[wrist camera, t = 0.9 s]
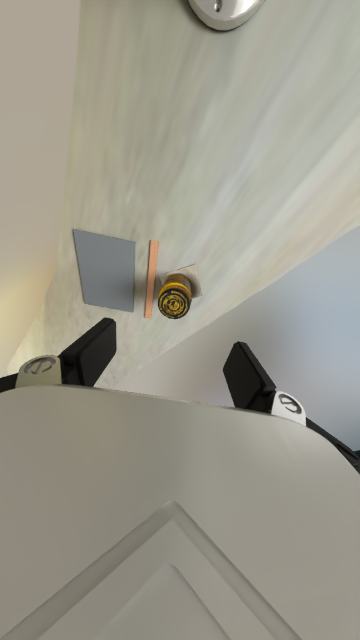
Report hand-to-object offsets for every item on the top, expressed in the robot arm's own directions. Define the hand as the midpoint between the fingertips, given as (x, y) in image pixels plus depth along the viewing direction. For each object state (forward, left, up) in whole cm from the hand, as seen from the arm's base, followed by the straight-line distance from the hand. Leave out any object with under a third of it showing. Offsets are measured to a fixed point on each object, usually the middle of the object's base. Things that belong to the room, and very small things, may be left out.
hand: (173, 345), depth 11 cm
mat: (+2, -17, -24) cm, 29 cm away
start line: (+2, -7, -24) cm, 25 cm away
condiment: (+1, 0, -24) cm, 24 cm away
